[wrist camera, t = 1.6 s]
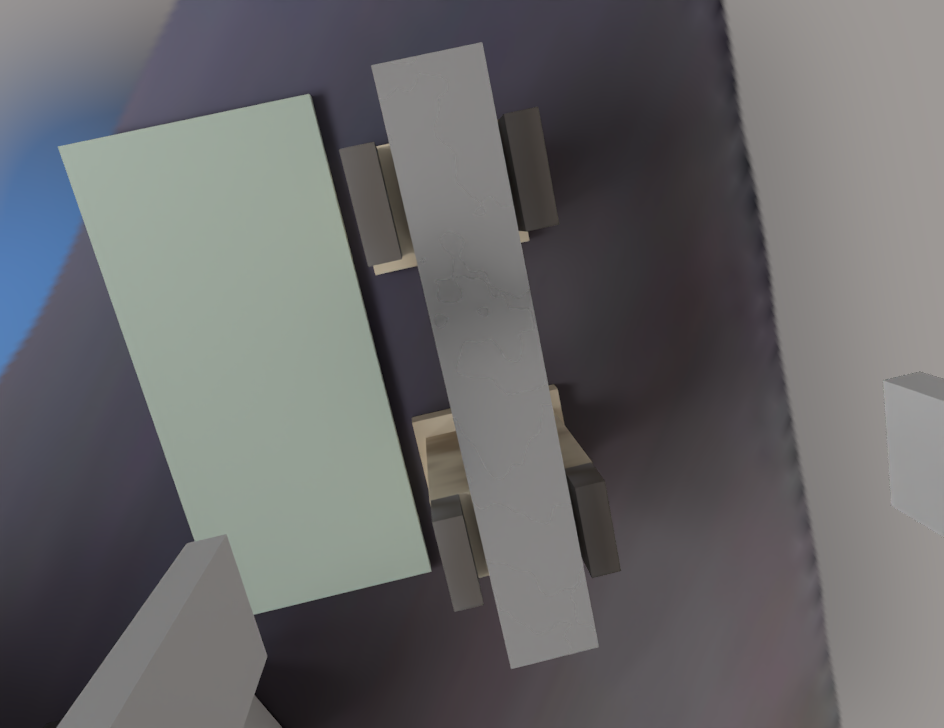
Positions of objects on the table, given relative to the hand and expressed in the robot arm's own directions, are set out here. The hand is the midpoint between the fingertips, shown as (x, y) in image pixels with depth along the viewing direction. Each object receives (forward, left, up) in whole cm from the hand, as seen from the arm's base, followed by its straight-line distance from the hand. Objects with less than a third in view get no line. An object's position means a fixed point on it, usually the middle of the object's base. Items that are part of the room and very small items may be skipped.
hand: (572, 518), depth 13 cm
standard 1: (0, -7, -23) cm, 24 cm away
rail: (0, 0, -14) cm, 14 cm away
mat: (-11, 0, -23) cm, 25 cm away
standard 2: (0, +7, -23) cm, 24 cm away
